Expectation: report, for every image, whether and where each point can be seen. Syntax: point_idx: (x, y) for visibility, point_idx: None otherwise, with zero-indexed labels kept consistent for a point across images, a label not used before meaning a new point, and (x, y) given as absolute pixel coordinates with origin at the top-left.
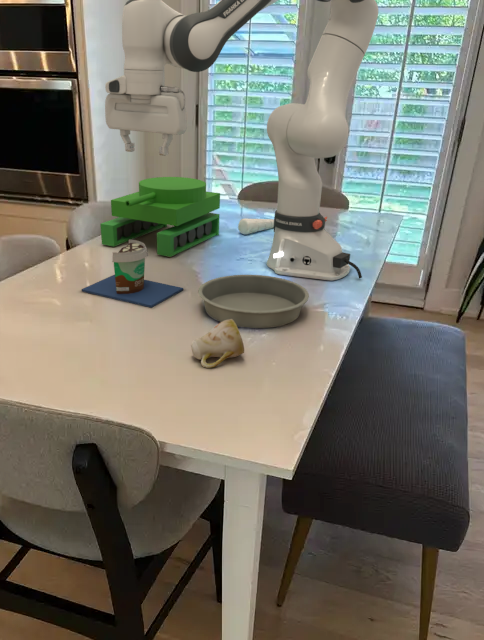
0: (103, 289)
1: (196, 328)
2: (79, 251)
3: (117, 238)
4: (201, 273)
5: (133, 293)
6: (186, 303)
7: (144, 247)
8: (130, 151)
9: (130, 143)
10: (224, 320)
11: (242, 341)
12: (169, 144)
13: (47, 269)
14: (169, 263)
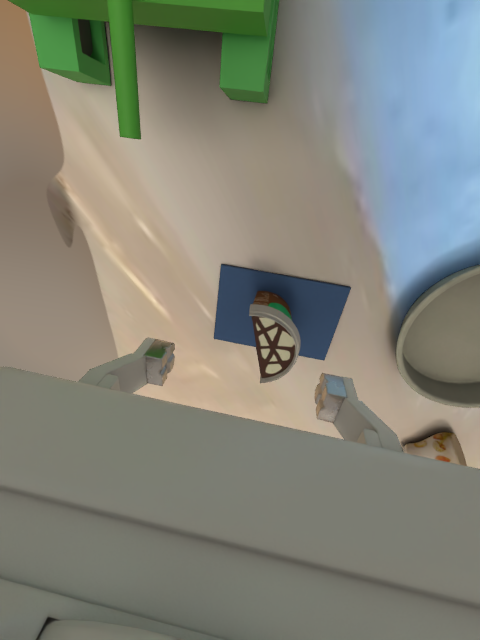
0: (240, 331)
1: (395, 393)
2: (77, 155)
3: (88, 37)
4: (364, 184)
5: None
6: (367, 332)
7: (296, 346)
8: (172, 363)
9: (157, 376)
10: (433, 381)
11: (466, 465)
12: (368, 411)
13: (114, 275)
14: (278, 146)
